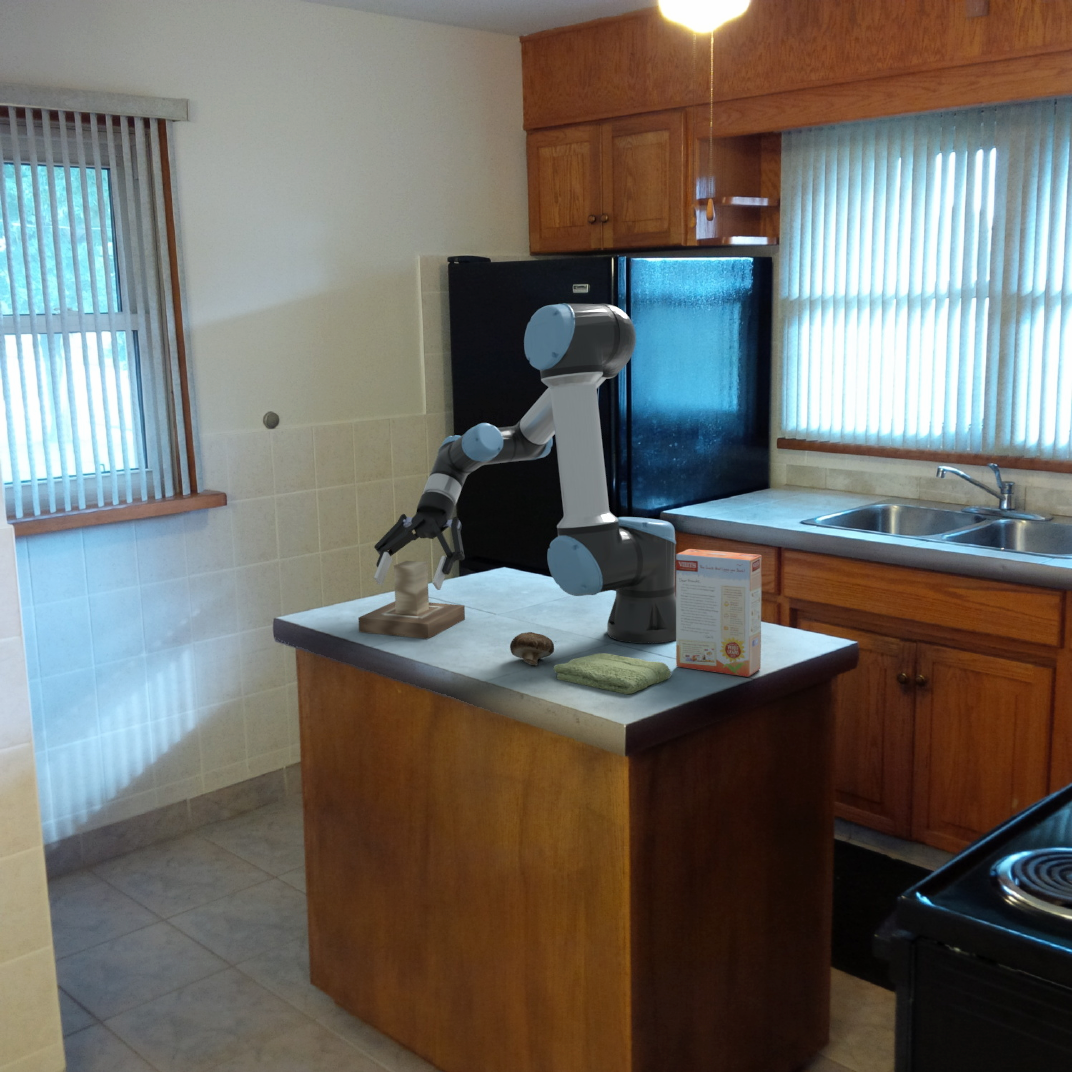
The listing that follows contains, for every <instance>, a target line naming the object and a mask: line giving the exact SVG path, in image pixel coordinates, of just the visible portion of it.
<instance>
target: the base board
mask: <svg viewBox="0 0 1072 1072" xmlns="http://www.w3.org/2000/svg"><path fill="white" fill-rule="evenodd" d="M465 606H466V605H463V604H452V603H442V602H441V603H440V602H430V601H429V610H427V611H425V612H423V613H420V614H418V615H410V614H400V613H396V607H395V600H394V601H392V602H390V603H387V604H386V605H383V606H381V607H379V608H377V609H374V610H372V611H370V612H368V613H365V614H363V615H361V616H359V617H358V618H357V619H358V633H364V634H366V633H367V634H376V635H387V636H397V637H406V638H418V639H426V640H427V639H428V640H429V639H430V638H431V639H432V638H433V637H435V636H437V635H438V634H440V633H442V632H444V631H446V630H447V629H450V628H451V627H454V626H455V625H457V624H458V623H461V622H462V621H464V620H465V619H466V615H465V614H466V612H465V611H466V609H465Z"/></svg>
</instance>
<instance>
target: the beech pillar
mask: <svg viewBox="0 0 1072 1072" xmlns="http://www.w3.org/2000/svg"><path fill="white" fill-rule="evenodd" d="M428 573H429V572H428V562H427V561H417V560H415V561H412V560H404V561H402V562H399V563H396V564H394V565H393V576H394V577H393V578H394V579H393V581H394V599H395V600H394V601H395V607H396V613H400V614H410V615H418V614H420V613H423V612H425V611H427V610H429V602H430V601H429V578H428V577H429V576H428Z"/></svg>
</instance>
